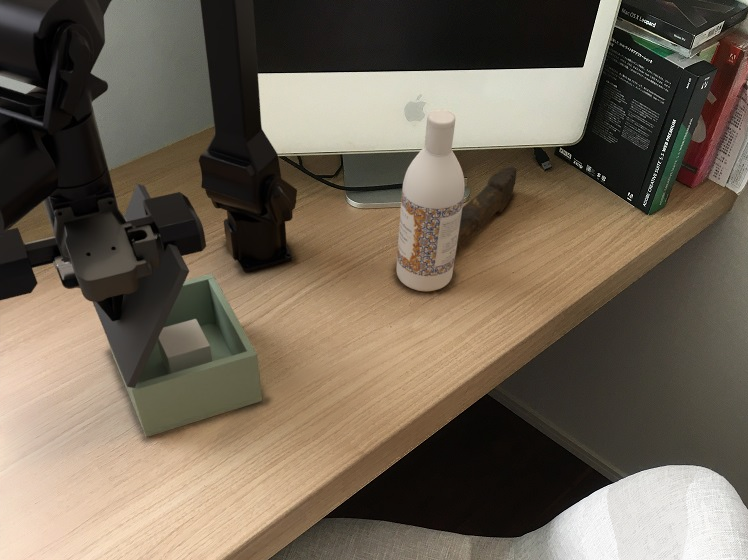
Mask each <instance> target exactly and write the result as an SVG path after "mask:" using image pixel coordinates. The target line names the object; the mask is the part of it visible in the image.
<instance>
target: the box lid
mask: <svg viewBox="0 0 748 560" xmlns="http://www.w3.org/2000/svg"><path fill="white" fill-rule="evenodd" d="M134 187H135V188H134V190H133V192H132V195H131V197H130V199H129V202H128V205H127V207H126V210H125V212H124V214H123V216H124V217H125V218H126V220H127V221H131V220H135V219H140V218H144V217H148V216H149V215H148V214H147V216H146V214H145V211H144V207H143V200H145V199H150V198H152V197H151V196H150V194H149V192H148V190H147V187H146V186H145V185H144V184H139V183H136V185H135V186H134ZM157 234H158V233H157ZM158 236H159V235H158ZM156 245H157V249H158V253H159V258H160V266H158V267H154V268H152V271H153V274H152V275H148V276H144V277H140V281H141V285H140V288H139V289H138V290H137V291H136V292H134V293H130V294H124V295H123V302H122V308H121V314H120V319H119V320H117V321H111V319H110V318H109V317H108V316H107V315H106V313H105V312H104V311H103V310H102V309H101V307H100V306H99V305H98V304H97V303H96V302H92V304H93V306H94V309H95V311H96V314H97V316H98V320H99V322H100V323H101V326H102V329H103V331H104V334H105V336H106V339H108V340H107V342H108V341H109V343H110V346H111V348H112V351H113V353H114V356H115V358H116V361H117V363H118V365H119V368H120V370H121V373H122V375H123V378H124V380H125V383H126V385H127V387H132V388H135V387H136V385H137V382H138V380H139V378H140V376H141V374H142V372H143V370H144V367H145V365H146V363H147V361H148V359H149V357H150V355H151V352H152V350H153V348H154V346H155V344H156V342H157V340H158V337H159V335H160V333H161V331H162V329H163V327H164V325H165V323H166V320H167V318H168V316H169V314H170V312H171V310H172V308H173V305H174V303H175V301H176V299H177V297H178V295H179V293H180V290H181V288H182V286H183V284H184V282H185V280H187V277H188V275H189V273H190V269H189V268H188V266H187V263H186V261H185V260H184V258H183V256H181V254H180V252H179V250H178V248H177V246H175V245H171V244H168V245H167V247H166V250H165V252H164V250H163V248H162V243H161V239H160V237H159V240H158V241H156ZM109 343H108V344H109ZM110 346H109V347H110Z"/></svg>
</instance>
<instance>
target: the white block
mask: <svg viewBox="0 0 748 560" xmlns="http://www.w3.org/2000/svg"><path fill="white" fill-rule="evenodd" d="M157 342H158V346H159V350H160V354H161V358H162V362H163V364H164V366H165V368H166V371H167V373H168V374H171V373H175V372H178V371H182V370H185V369H189V368H192V367H195V366H199V365H202V364H206V363H209V362H213V360H212V355H211V349H210V345H209V343H208V341H207V339H206V337H205V335H204V333H203V331H202V329H201V327H200V325H199V324H198V322H197V320H196V319H193V320H190V321H186V322H182V323H179V324H175V325H172V326H168V327H164V328H163V329H162V331H161V333H160V335H159V337H158V340H157Z"/></svg>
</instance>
